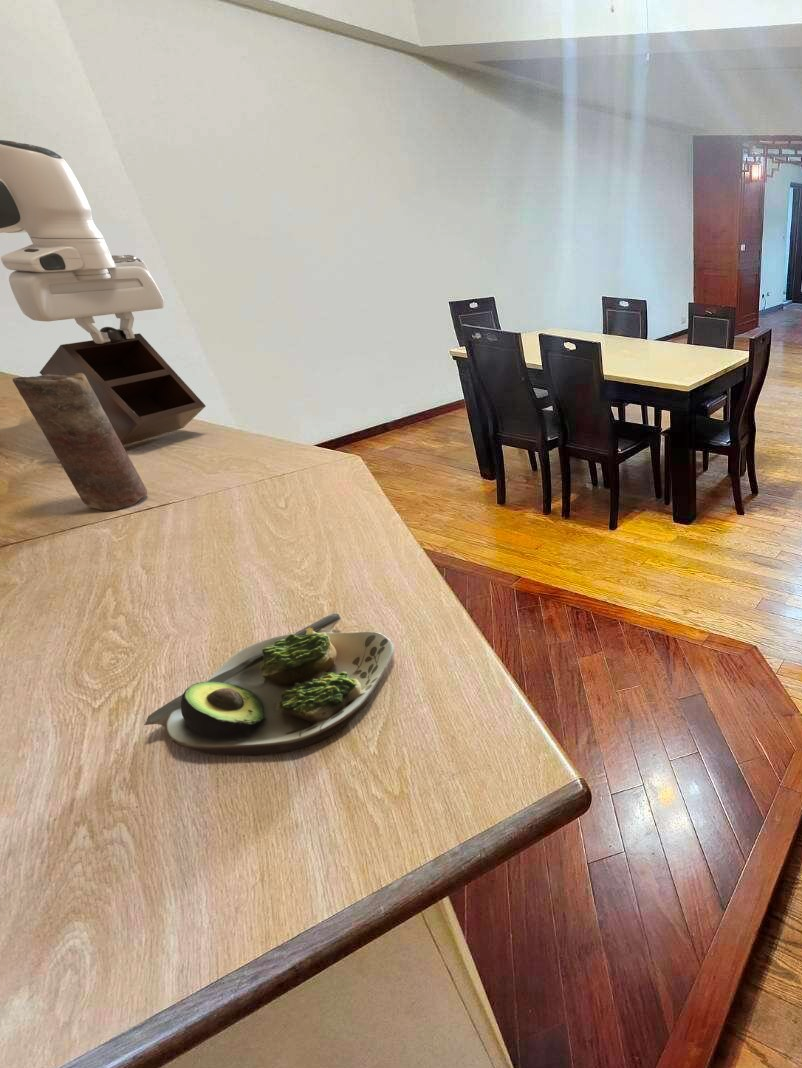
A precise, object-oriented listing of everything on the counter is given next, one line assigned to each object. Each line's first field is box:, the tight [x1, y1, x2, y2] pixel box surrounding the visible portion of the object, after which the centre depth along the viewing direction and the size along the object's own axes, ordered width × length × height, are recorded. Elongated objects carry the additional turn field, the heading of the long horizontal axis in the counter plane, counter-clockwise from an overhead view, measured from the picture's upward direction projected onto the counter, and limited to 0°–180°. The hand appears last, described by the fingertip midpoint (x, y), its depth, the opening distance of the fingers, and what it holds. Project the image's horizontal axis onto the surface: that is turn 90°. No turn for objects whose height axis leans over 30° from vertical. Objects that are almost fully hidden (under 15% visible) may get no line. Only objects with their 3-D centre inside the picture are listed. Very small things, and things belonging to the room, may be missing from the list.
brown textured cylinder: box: [12, 373, 148, 512], centre depth 88 cm, size 8×7×20 cm
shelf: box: [39, 326, 207, 447], centre depth 112 cm, size 17×13×14 cm
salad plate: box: [143, 613, 395, 757], centre depth 59 cm, size 19×18×5 cm
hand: (115, 341), depth 108 cm, fingers closed on shelf, 3 cm apart
